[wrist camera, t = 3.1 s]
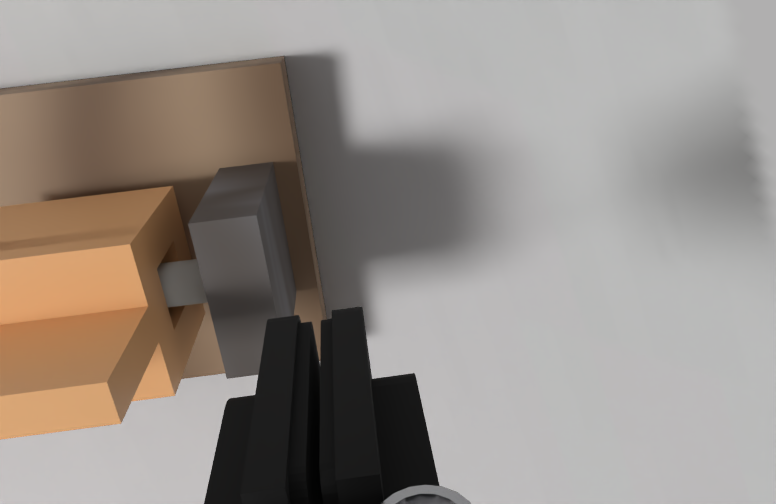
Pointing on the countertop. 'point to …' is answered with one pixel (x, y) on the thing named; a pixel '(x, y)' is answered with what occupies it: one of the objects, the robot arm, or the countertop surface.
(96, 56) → the countertop surface
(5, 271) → the orange sliding block
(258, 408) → the robot arm
